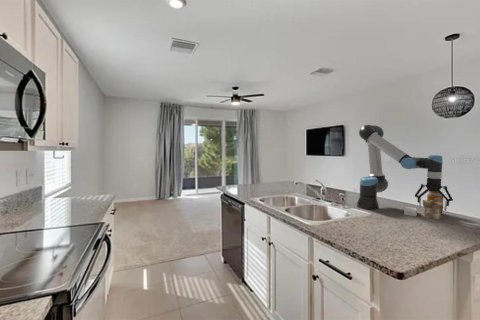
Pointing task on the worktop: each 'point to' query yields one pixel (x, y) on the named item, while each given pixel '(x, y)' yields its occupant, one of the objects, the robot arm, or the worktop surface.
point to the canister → (435, 197)
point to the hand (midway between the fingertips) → (432, 209)
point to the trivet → (410, 211)
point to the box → (432, 213)
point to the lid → (432, 204)
